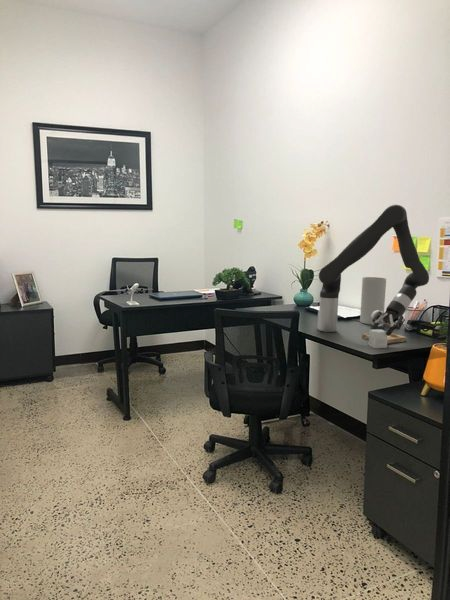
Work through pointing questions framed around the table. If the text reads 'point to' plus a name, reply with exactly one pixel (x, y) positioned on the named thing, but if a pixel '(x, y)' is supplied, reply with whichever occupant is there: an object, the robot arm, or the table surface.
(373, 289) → the cylinder vase
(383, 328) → the watch
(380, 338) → the skincare box
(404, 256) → the robot arm
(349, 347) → the table surface
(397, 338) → the tray
